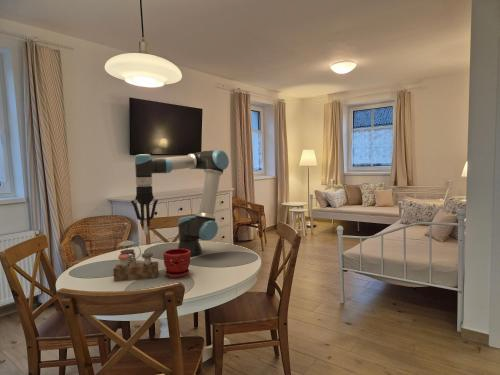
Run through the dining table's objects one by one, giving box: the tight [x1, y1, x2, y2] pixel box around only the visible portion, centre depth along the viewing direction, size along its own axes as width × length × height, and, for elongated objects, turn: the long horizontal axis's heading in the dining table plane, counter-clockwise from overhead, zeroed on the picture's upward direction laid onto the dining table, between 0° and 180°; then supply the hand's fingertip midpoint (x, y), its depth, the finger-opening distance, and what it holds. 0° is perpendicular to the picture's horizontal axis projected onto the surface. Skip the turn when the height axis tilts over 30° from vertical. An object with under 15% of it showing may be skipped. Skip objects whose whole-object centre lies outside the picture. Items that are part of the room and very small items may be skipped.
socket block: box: [112, 261, 159, 282], centre depth 158 cm, size 20×7×6 cm, turn 100°
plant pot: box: [163, 248, 192, 278], centre depth 160 cm, size 13×13×12 cm
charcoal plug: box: [141, 252, 154, 266], centre depth 159 cm, size 5×5×7 cm
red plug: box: [118, 254, 131, 267], centre depth 157 cm, size 5×5×7 cm
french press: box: [118, 222, 142, 264], centre depth 171 cm, size 10×12×25 cm
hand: (146, 233), depth 158 cm, fingers closed
